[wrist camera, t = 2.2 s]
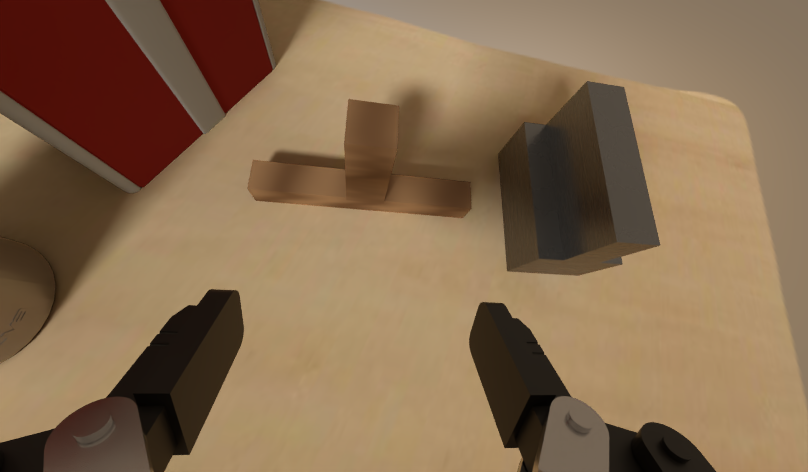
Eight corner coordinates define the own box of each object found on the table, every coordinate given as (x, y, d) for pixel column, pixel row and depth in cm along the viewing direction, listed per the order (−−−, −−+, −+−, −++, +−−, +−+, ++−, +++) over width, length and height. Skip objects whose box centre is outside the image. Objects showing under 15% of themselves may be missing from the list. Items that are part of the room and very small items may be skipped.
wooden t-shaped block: (256, 204, 26) (199, 126, 16) (261, 172, 27) (211, 80, 17) (461, 221, 29) (519, 163, 19) (460, 191, 30) (515, 121, 20)
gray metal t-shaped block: (578, 275, 29) (688, 247, 20) (507, 271, 28) (587, 239, 19) (562, 161, 33) (648, 91, 23) (498, 153, 32) (561, 77, 22)
